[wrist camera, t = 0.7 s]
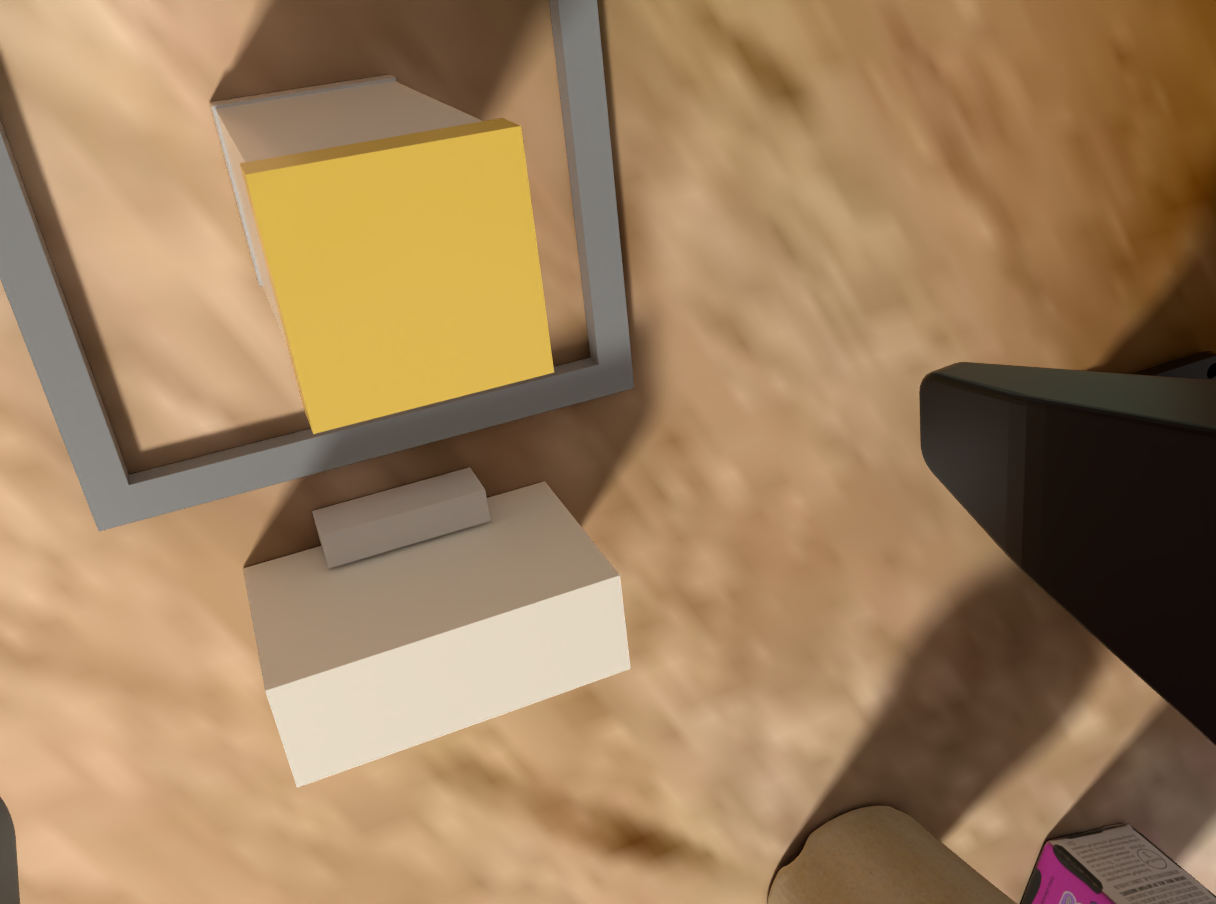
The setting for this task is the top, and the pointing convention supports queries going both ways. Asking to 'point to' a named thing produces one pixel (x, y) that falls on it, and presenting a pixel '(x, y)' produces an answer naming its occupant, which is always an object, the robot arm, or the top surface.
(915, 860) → the flower pot
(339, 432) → the headphones
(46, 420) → the top surface
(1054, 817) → the top surface
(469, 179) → the yellow-capped grey block
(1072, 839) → the candy bar box
